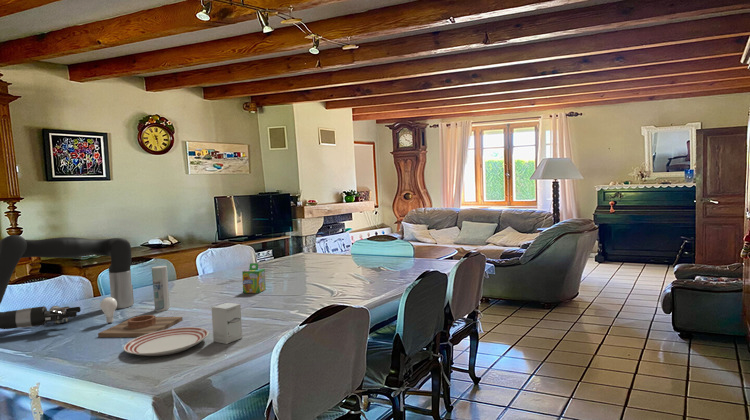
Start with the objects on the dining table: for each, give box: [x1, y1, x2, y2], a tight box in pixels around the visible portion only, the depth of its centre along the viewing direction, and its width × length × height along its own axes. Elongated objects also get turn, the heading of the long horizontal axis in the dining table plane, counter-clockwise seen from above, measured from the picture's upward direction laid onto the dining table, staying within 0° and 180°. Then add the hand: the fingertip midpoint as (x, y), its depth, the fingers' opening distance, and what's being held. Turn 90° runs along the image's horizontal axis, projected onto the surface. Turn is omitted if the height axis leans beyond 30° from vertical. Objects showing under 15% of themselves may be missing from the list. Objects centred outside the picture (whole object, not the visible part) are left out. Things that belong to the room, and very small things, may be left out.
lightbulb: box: [99, 296, 117, 324], centre depth 205 cm, size 6×6×11 cm
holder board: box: [97, 314, 183, 338], centre depth 194 cm, size 22×22×4 cm
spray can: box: [151, 265, 171, 312], centre depth 224 cm, size 6×6×20 cm
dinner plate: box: [123, 326, 210, 357], centre depth 169 cm, size 28×27×3 cm
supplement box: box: [211, 302, 243, 345], centre depth 173 cm, size 7×7×13 cm
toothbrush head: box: [48, 305, 69, 325], centre depth 217 cm, size 5×7×25 cm
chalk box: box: [241, 262, 267, 294], centre depth 254 cm, size 9×9×15 cm
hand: (78, 311), depth 200 cm, fingers open, 8 cm apart
